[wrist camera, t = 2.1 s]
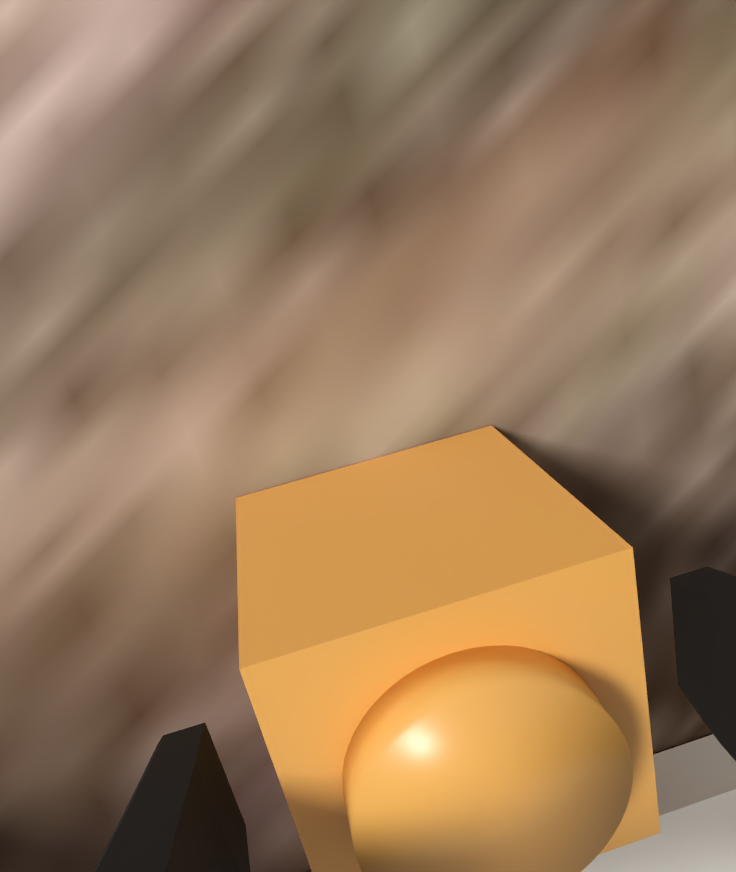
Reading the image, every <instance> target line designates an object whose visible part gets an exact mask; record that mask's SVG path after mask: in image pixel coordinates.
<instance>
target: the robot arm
mask: <svg viewBox="0 0 736 872" xmlns="http://www.w3.org/2000/svg"><path fill="white" fill-rule="evenodd" d="M670 583H671V596H672V610H673V623H674V636H675V649H676V662H677V675H678V685H679V686H680V688H681V689H682V690H683V692H684V693H685V695H686V696H687V698H688V699H689V701H690V702H691V704H692V705H693V706H694V708H695V709H696V711H697V712H698V714H699V715H700V717H701V718H702V719H703V721H704V722H705V724H706V725H707V726H708V728H709V729H710V730H711V732H712V733H713V734H714V736H715V737H716V739H717V740H718V741H719V743H720V744H721V745H722V746H723V747H724V749H725V750H726V751H727V752H728V753H729V754H730V755H731V757H732V758H733V759H734V760H735V761H736V576H733V575H730V574H727V573H724V572H721V571H718V570H715V569H712V568H709V567H705V568H701V569H698V570H695V571H692V572H688V573H685V574H682V575H679V576H676V577H672V578H670ZM94 872H250V866H249V856H248V845H247V835H246V825H245V823H244V820H243V818H242V815H241V812H240V810H239V807H238V805H237V802H236V800H235V797H234V795H233V792H232V790H231V787H230V785H229V782H228V779H227V777H226V774H225V772H224V769H223V767H222V764H221V762H220V759H219V757H218V754H217V752H216V749H215V746H214V744H213V741H212V739H211V736H210V734H209V731H208V729H207V726H206V724H205V723H202V724H199V725H196V726H192V727H189V728H186V729H183V730H180V731H176V732H173V733H170V734H167V735H163V737H162V738H161V740H160V741H159V743H158V745H157V747H156V749H155V751H154V753H153V755H152V757H151V759H150V761H149V763H148V765H147V767H146V769H145V771H144V773H143V776H142V778H141V780H140V782H139V784H138V786H137V788H136V790H135V792H134V794H133V796H132V798H131V800H130V802H129V804H128V806H127V808H126V810H125V812H124V814H123V816H122V818H121V820H120V822H119V824H118V826H117V828H116V830H115V832H114V834H113V836H112V838H111V840H110V841H109V843H108V845H107V847H106V849H105V851H104V853H103V855H102V857H101V858H100V860H99V862H98V864H97V866H96V868H95V870H94Z"/></svg>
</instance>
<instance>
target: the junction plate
mask: <svg viewBox="0 0 736 872" xmlns="http://www.w3.org/2000/svg"><path fill="white" fill-rule="evenodd" d="M653 759H654V770H655V780H656V790H657V800H658V811H659V821H660V831H661V833H659V834H656V835H653V836H650V837H647V838H644V839H642V840H639V841H636V842H633V843H630V844H628V845H625V846H622V847H619V848H616V849H613V850H611V851H608V852H605V853H602V854H599V855H597V857H596V858H595V859H594V860H593V861H592V862H591V863H590V864H589V865H588V866H587V867H586V868H584V869H583V870H582V871H581V872H736V761H735V760H734V759H733V758H732V757H731V755H730V754H729V753H728V752H727V751H726V750H725V749H724V747H723V746H722V745H721V744H720V743H719V741H718V740H717V739H716V737H715V736H714V734H712V735H709V736H706V737H703V738H700V739H698V740H695V741H692V742H689V743H686V744H683V745H680V746H677V747H674V748H671V749H668V750H665V751H662V752H660V753H657V754H654V755H653Z"/></svg>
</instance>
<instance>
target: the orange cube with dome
mask: <svg viewBox="0 0 736 872" xmlns="http://www.w3.org/2000/svg"><path fill="white" fill-rule="evenodd" d="M236 531H237V580H238V628H239V670H240V672H241V675H242V678H243V681H244V683H245V686H246V689H247V692H248V695H249V697H250V700H251V703H252V706H253V709H254V711H255V714H256V717H257V720H258V723H259V725H260V728H261V731H262V734H263V736H264V739H265V742H266V745H267V748H268V750H269V753H270V756H271V759H272V762H273V764H274V767H275V770H276V773H277V776H278V778H279V781H280V784H281V787H282V790H283V792H284V795H285V798H286V801H287V803H288V806H289V809H290V812H291V815H292V817H293V820H294V823H295V826H296V829H297V831H298V834H299V837H300V840H301V843H302V845H303V848H304V851H305V854H306V857H307V859H308V862H309V865H310V868H311V870H312V872H581V871H582V870H583V869H584V868H586V867H587V866H588V865H589V864H590V863H591V862H592V861H593V860H594V859H595V858H596V857H597V855H599V854H602V853H605V852H608V851H611V850H613V849H616V848H619V847H622V846H625V845H628V844H630V843H633V842H636V841H639V840H642V839H644V838H647V837H650V836H653V835H656V834H659V833H661V831H660V821H659V811H658V800H657V790H656V780H655V770H654V759H653V749H652V739H651V729H650V718H649V708H648V698H647V688H646V677H645V667H644V657H643V647H642V636H641V626H640V616H639V606H638V595H637V585H636V575H635V565H634V554H633V547H632V546H630V545H629V544H628V543H627V542H626V541H625V540H623V539H622V538H621V537H620V536H619V535H618V534H617V533H615V532H614V531H613V530H612V529H611V528H610V527H608V526H607V525H606V524H605V523H604V522H603V521H602V520H600V519H599V518H598V517H597V516H596V515H595V514H593V513H592V512H591V511H590V510H589V509H588V508H586V507H585V506H584V505H583V504H582V503H581V502H580V501H578V500H577V499H576V498H575V497H574V496H573V495H571V494H570V493H569V492H568V491H567V490H566V489H565V488H563V487H562V486H561V485H560V484H559V483H558V482H556V481H555V480H554V479H553V478H552V477H551V476H549V475H548V474H547V473H546V472H545V471H544V470H543V469H541V468H540V467H539V466H538V465H537V464H536V463H534V462H533V461H532V460H531V459H530V458H529V457H528V456H526V455H525V454H524V453H523V452H522V451H521V450H519V449H518V448H517V447H516V446H515V445H514V444H512V443H511V442H510V441H509V440H508V439H507V438H506V437H504V436H503V435H502V434H501V433H500V432H499V431H497V430H496V429H495V428H494V427H493V426H492V425H491V426H488V427H484V428H481V429H477V430H474V431H470V432H467V433H463V434H460V435H456V436H453V437H449V438H446V439H442V440H439V441H435V442H431V443H428V444H424V445H421V446H417V447H414V448H410V449H407V450H403V451H400V452H396V453H393V454H389V455H386V456H382V457H379V458H375V459H372V460H368V461H364V462H361V463H357V464H354V465H350V466H347V467H343V468H340V469H336V470H333V471H329V472H326V473H322V474H319V475H315V476H312V477H308V478H305V479H301V480H297V481H294V482H290V483H287V484H283V485H280V486H276V487H273V488H269V489H266V490H262V491H259V492H255V493H252V494H248V495H245V496H241V497H238V498H236Z"/></svg>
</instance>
